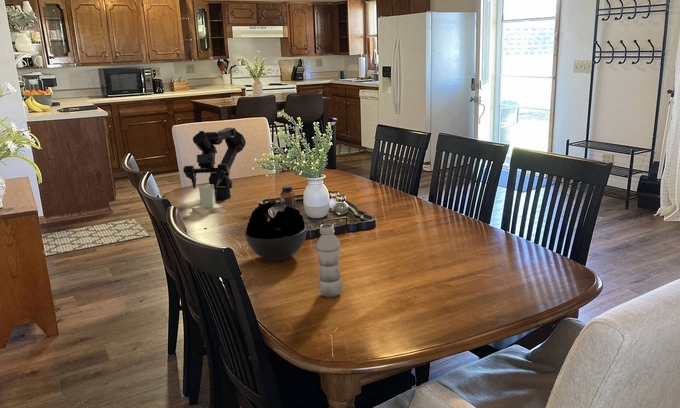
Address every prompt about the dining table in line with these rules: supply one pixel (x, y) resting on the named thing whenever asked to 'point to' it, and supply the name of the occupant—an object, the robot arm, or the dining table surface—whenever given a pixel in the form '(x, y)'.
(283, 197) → the supplement bottle
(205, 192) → the sage block
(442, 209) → the dining table surface
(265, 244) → the bowl of black rocks
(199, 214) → the base slab
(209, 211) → the birch slab
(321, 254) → the plastic bottle
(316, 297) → the dining table surface
